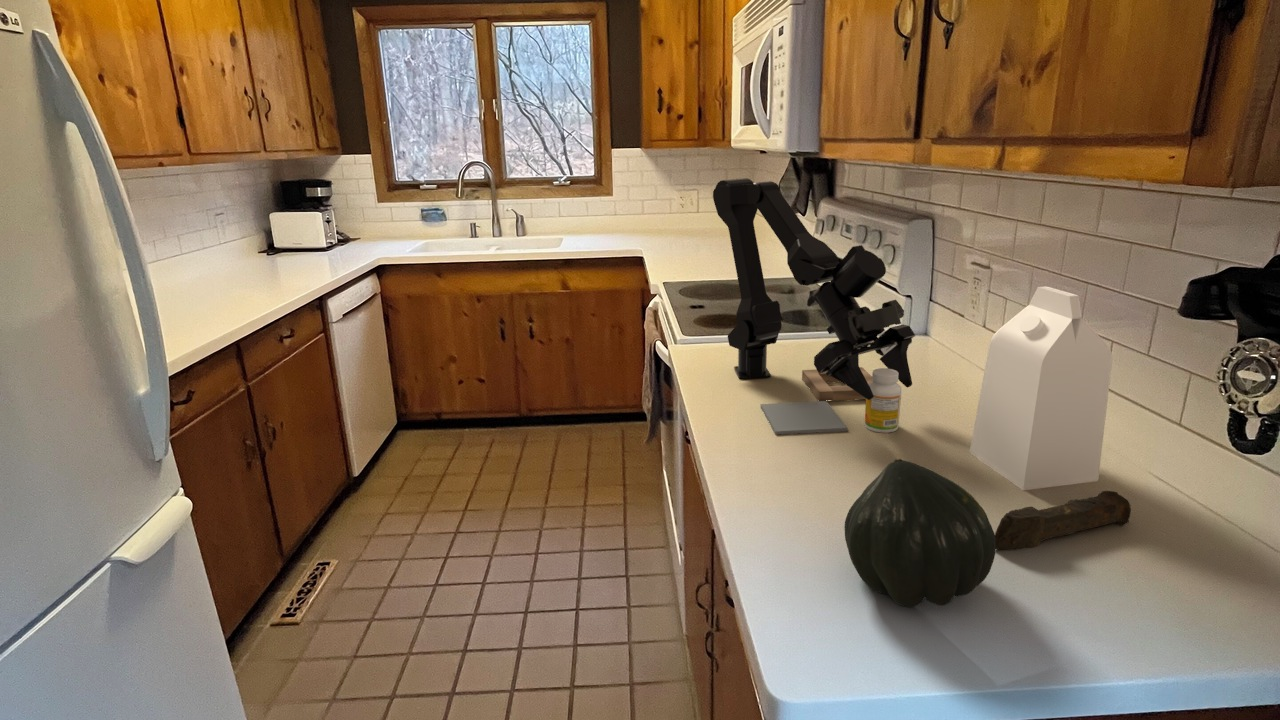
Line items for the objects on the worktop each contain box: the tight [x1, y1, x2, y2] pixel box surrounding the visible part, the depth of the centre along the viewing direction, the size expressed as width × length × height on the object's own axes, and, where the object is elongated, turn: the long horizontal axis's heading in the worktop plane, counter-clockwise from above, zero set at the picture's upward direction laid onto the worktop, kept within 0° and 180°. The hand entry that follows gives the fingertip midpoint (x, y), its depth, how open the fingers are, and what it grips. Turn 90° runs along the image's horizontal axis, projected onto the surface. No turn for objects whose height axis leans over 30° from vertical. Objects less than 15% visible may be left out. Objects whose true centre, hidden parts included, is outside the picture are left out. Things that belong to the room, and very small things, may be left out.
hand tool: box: [994, 490, 1132, 551], centre depth 84 cm, size 19×4×5 cm, turn 106°
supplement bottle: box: [864, 367, 902, 434], centre depth 114 cm, size 5×5×10 cm
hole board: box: [801, 366, 873, 401], centre depth 133 cm, size 12×12×2 cm
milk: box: [969, 285, 1113, 491], centre depth 97 cm, size 12×12×26 cm
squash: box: [843, 457, 996, 608], centre depth 75 cm, size 14×15×15 cm
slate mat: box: [760, 400, 849, 436], centre depth 120 cm, size 12×12×1 cm
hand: (891, 392), depth 113 cm, fingers open, 9 cm apart
